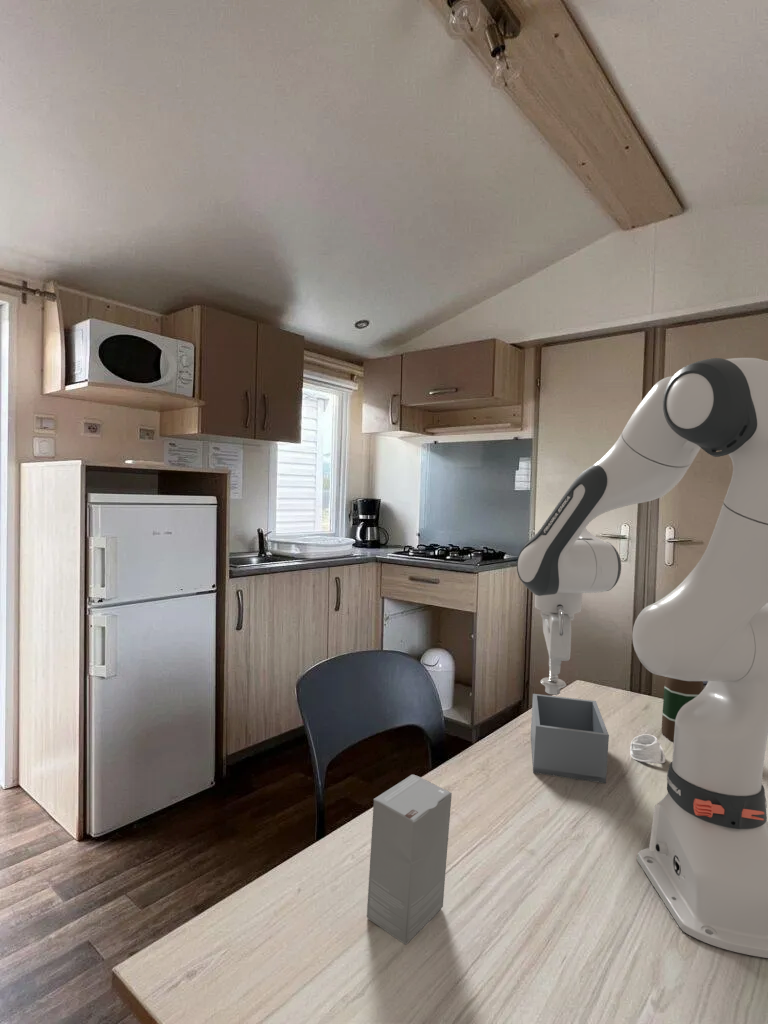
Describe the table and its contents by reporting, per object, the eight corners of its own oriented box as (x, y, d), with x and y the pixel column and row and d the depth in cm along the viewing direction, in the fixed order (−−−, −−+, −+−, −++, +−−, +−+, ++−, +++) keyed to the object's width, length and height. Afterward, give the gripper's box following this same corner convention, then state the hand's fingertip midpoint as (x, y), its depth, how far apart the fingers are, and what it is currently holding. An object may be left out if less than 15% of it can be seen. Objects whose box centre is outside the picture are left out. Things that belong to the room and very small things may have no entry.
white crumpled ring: (669, 774, 116) (674, 751, 115) (633, 766, 117) (638, 743, 116) (658, 753, 124) (662, 731, 123) (624, 746, 125) (628, 725, 124)
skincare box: (404, 885, 79) (409, 769, 78) (449, 912, 74) (455, 789, 73) (362, 920, 72) (367, 793, 71) (408, 951, 68) (415, 817, 67)
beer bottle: (653, 732, 133) (660, 627, 132) (677, 728, 136) (684, 625, 135) (683, 747, 126) (691, 636, 125) (708, 742, 129) (716, 633, 128)
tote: (605, 783, 109) (608, 735, 108) (533, 772, 112) (535, 726, 111) (593, 742, 126) (595, 701, 126) (530, 734, 129) (532, 693, 129)
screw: (566, 698, 113) (540, 695, 115) (564, 690, 118) (539, 687, 119) (570, 631, 113) (544, 628, 114) (568, 625, 118) (543, 623, 119)
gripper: (581, 612, 105) (576, 689, 105) (569, 593, 125) (565, 657, 125) (544, 609, 106) (540, 685, 107) (538, 590, 126) (535, 654, 127)
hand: (554, 670), depth 116 cm, fingers closed on screw
